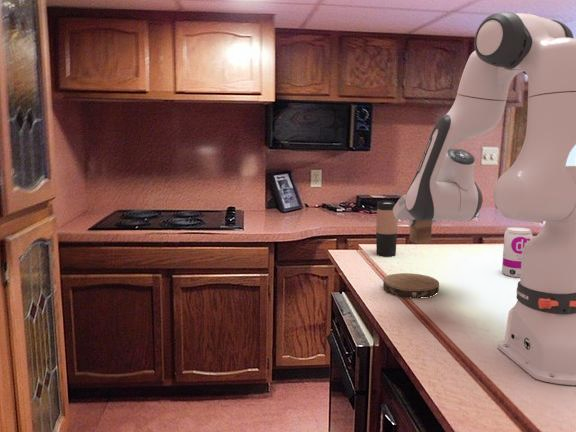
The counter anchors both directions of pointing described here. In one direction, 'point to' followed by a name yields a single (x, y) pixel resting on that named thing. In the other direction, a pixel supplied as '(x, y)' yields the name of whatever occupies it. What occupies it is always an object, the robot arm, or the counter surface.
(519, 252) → the supplement can
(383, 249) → the travel mug
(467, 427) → the counter surface
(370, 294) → the counter surface
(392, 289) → the wood slice
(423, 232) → the walnut block
